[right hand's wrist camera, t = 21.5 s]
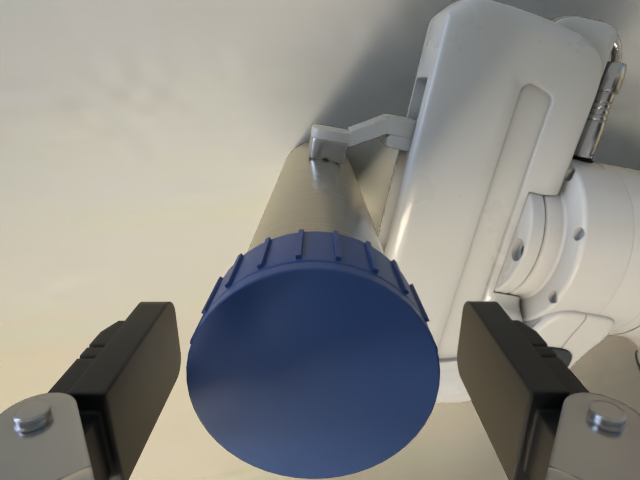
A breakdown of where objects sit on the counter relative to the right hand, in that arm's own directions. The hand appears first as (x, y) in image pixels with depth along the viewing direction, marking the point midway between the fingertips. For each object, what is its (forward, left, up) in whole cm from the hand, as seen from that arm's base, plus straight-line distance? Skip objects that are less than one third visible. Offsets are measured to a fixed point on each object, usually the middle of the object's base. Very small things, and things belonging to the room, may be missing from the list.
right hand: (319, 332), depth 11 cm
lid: (0, 0, +2) cm, 2 cm away
